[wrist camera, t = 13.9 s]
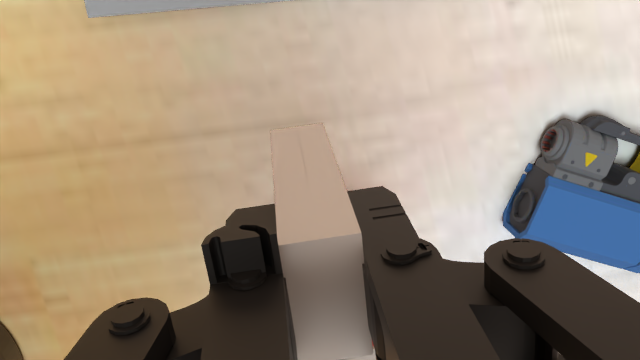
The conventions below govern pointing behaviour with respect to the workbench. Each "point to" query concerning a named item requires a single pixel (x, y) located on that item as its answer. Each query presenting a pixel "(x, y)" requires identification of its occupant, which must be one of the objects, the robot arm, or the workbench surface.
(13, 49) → the workbench surface
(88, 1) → the long grey bar
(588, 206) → the stun gun
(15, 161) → the workbench surface
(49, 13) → the workbench surface
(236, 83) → the workbench surface
